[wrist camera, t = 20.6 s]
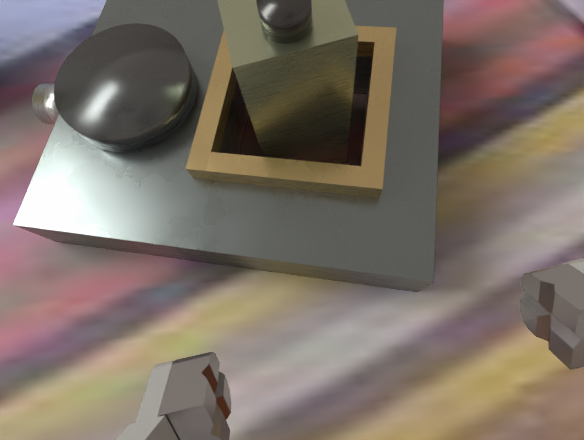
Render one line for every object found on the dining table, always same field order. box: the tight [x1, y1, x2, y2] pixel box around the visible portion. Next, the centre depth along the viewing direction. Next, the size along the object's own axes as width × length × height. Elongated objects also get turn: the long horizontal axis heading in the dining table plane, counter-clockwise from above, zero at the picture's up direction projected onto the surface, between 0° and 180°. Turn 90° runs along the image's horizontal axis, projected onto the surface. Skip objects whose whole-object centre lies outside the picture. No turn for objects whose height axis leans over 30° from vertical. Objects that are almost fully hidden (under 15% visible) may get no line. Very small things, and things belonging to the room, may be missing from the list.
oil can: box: [217, 0, 359, 164], centre depth 16 cm, size 4×5×12 cm
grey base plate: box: [13, 0, 444, 292], centre depth 20 cm, size 22×16×4 cm
